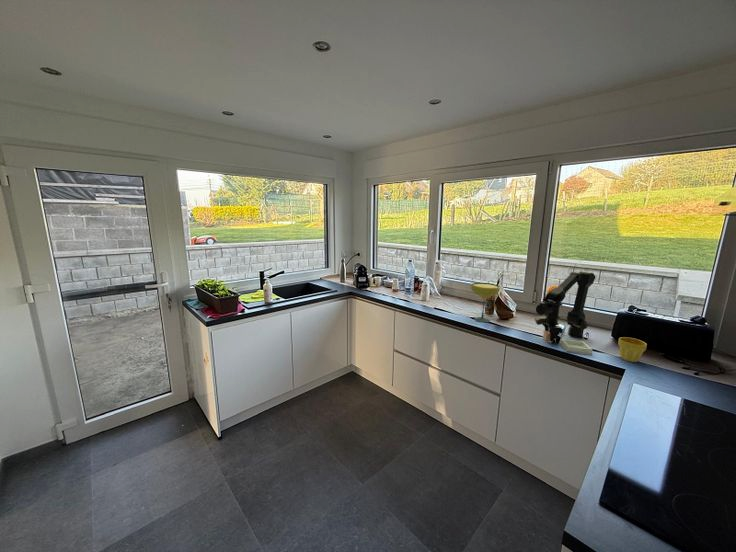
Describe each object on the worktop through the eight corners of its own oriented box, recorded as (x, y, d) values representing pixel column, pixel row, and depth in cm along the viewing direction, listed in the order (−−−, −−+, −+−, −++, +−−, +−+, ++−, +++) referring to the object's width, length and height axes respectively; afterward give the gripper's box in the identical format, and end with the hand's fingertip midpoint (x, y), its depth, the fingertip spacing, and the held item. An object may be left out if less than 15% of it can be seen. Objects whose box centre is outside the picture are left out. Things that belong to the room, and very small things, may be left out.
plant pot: (637, 365, 138) (641, 346, 137) (611, 356, 147) (615, 339, 146) (647, 361, 143) (650, 343, 141) (621, 353, 152) (624, 335, 150)
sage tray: (582, 346, 160) (583, 341, 159) (591, 354, 149) (592, 349, 149) (559, 343, 163) (560, 338, 162) (567, 352, 152) (568, 346, 152)
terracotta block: (552, 339, 169) (553, 331, 168) (555, 342, 164) (556, 334, 163) (542, 338, 170) (543, 330, 169) (545, 341, 166) (546, 333, 165)
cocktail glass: (479, 314, 213) (482, 281, 209) (501, 321, 198) (505, 286, 194) (463, 318, 204) (465, 284, 199) (485, 326, 189) (488, 289, 184)
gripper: (532, 307, 175) (529, 331, 178) (541, 316, 157) (538, 343, 160) (553, 309, 172) (549, 333, 175) (565, 318, 154) (560, 345, 157)
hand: (549, 338), depth 167 cm, fingers open, 8 cm apart
